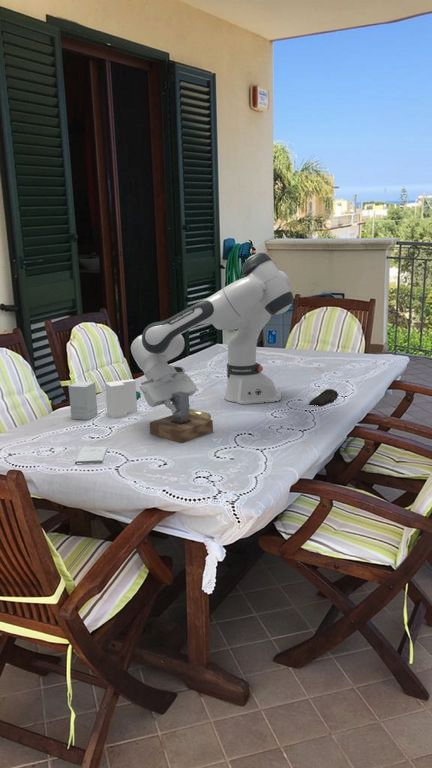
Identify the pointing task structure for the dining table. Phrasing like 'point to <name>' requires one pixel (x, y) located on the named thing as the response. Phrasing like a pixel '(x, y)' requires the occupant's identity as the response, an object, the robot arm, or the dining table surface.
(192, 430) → the socket block
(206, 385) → the dining table surface
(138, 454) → the dining table surface
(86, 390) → the supplement box
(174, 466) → the dining table surface
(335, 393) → the dark elongated pod
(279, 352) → the dining table surface
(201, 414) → the round bit
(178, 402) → the square bit
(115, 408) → the corner bracket
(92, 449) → the external hard drive
